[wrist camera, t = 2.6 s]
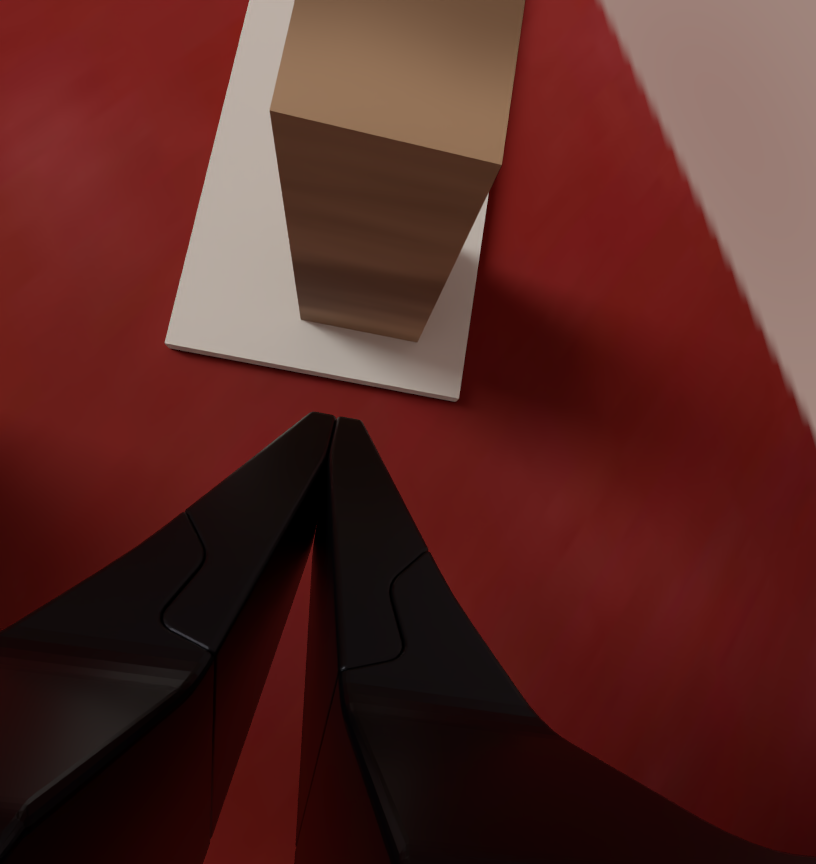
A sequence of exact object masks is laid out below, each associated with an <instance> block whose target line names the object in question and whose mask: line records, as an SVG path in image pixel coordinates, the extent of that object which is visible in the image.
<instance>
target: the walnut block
mask: <svg viewBox="0 0 816 864" xmlns="http://www.w3.org/2000/svg"><path fill="white" fill-rule="evenodd" d="M524 5H525V0H295V1H294V6H293V10H292V14H291V19H290V23H289V27H288V32H287V36H286V41H285V45H284V49H283V54H282V58H281V62H280V67H279V71H278V75H277V80H276V84H275V88H274V93H273V97H272V101H271V106H270V110H269V111H270V118H271V124H272V131H273V138H274V144H275V151H276V158H277V164H278V171H279V178H280V184H281V191H282V198H283V205H284V211H285V218H286V225H287V231H288V238H289V245H290V251H291V258H292V265H293V271H294V278H295V285H296V292H297V298H298V305H299V312H300V318H301V320H305V321H310V322H315V323H320V324H326V325H331V326H336V327H341V328H346V329H351V330H356V331H361V332H366V333H371V334H376V335H381V336H386V337H391V338H396V339H402V340H407V341H412V342H418V340H419V338H420V336H421V334H422V332H423V330H424V328H425V325H426V323H427V321H428V319H429V317H430V315H431V313H432V311H433V309H434V307H435V304H436V302H437V300H438V298H439V296H440V294H441V292H442V290H443V288H444V285H445V283H446V281H447V279H448V277H449V275H450V273H451V271H452V269H453V266H454V264H455V262H456V260H457V258H458V256H459V254H460V252H461V250H462V248H463V245H464V243H465V241H466V239H467V237H468V235H469V233H470V231H471V229H472V226H473V224H474V222H475V220H476V218H477V216H478V214H479V212H480V210H481V207H482V205H483V203H484V201H485V199H486V197H487V195H488V193H489V191H490V189H491V186H492V184H493V182H494V180H495V178H496V176H497V174H498V172H499V170H500V167H501V165H502V159H503V152H504V145H505V138H506V131H507V124H508V117H509V110H510V103H511V96H512V89H513V82H514V75H515V68H516V61H517V54H518V47H519V40H520V33H521V26H522V19H523V12H524Z"/></svg>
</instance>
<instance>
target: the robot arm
mask: <svg viewBox="0 0 816 864" xmlns="http://www.w3.org/2000/svg"><path fill="white" fill-rule="evenodd" d="M316 525H317V526H316ZM315 530H316V532H315ZM314 535H315V538H314ZM313 539H314V545H313V556H312V572H311V589H310V606H309V623H308V640H307V658H306V675H305V692H304V709H303V726H302V744H301V761H300V778H299V795H298V812H297V829H296V851H295V863H294V864H816V857H813V856H804V855H795V854H790V853H785V852H780V851H775V850H772V849H769V848H765V847H762V846H759V845H756V844H753V843H751V842H748V841H746V840H744V839H741V838H739V837H737V836H734V835H732V834H730V833H727V832H725V831H723V830H721V829H719V828H717V827H716V826H714V825H712V824H710V823H708V822H706V821H704V820H702V819H701V818H699V817H697V816H695V815H694V814H692V813H690V812H689V811H687V810H685V809H683V808H682V807H680V806H678V805H677V804H675V803H673V802H671V801H670V800H668V799H666V798H665V797H663V796H661V795H659V794H658V793H656V792H654V791H653V790H651V789H649V788H647V787H646V786H644V785H642V784H641V783H639V782H637V781H635V780H634V779H632V778H630V777H628V776H627V775H625V774H623V773H622V772H620V771H618V770H616V769H615V768H613V767H611V766H610V765H608V764H606V763H604V762H603V761H601V760H599V759H598V758H596V757H594V756H592V755H591V754H589V753H587V752H586V751H584V750H582V749H580V748H579V747H577V746H575V745H574V744H572V743H570V742H569V741H567V740H565V739H564V738H562V737H561V736H559V735H558V734H557V733H556V732H554V731H553V730H552V729H551V728H550V727H549V726H548V725H547V724H546V723H545V722H544V721H543V720H542V719H541V718H540V717H539V716H538V715H537V714H536V713H535V712H534V710H533V709H532V708H531V707H530V706H529V704H528V703H527V702H526V700H525V699H524V698H523V696H522V695H521V694H520V692H519V691H518V689H517V688H516V686H515V685H514V683H513V682H512V681H511V679H510V678H509V676H508V675H507V673H506V672H505V670H504V669H503V668H502V666H501V665H500V663H499V662H498V660H497V659H496V657H495V656H494V655H493V653H492V652H491V650H490V649H489V647H488V646H487V645H486V643H485V642H484V640H483V639H482V637H481V636H480V634H479V633H478V632H477V630H476V629H475V627H474V626H473V624H472V623H471V621H470V620H469V618H468V617H467V615H466V614H465V612H464V611H463V609H462V608H461V606H460V604H459V603H458V601H457V600H456V598H455V597H454V595H453V593H452V592H451V590H450V588H449V586H448V585H447V583H446V581H445V579H444V578H443V576H442V574H441V572H440V570H439V569H438V567H437V565H436V563H435V561H434V559H433V557H432V555H431V553H430V552H428V548H427V546H426V544H425V542H424V540H423V538H422V536H421V534H420V532H419V530H418V528H417V526H416V524H415V522H414V521H413V519H412V517H411V515H410V513H409V511H408V509H407V507H406V505H405V503H404V501H403V499H402V497H401V495H400V494H399V492H398V490H397V488H396V486H395V484H394V482H393V480H392V478H391V476H390V474H389V472H388V470H387V469H386V467H385V465H384V463H383V461H382V459H381V457H380V455H379V453H378V451H377V449H376V447H375V445H374V443H373V442H372V440H371V438H370V436H369V434H368V432H367V430H366V428H365V426H364V424H363V422H362V421H360V420H357V419H352V418H346V417H338V418H337V419H336V418H335V416H333V415H330V414H324V413H319V412H310V413H309V414H308V415H306V416H305V417H304V418H303V419H301V420H300V421H299V422H297V423H296V424H295V425H294V426H292V427H291V428H290V429H288V430H287V431H286V432H285V433H283V434H282V435H281V436H279V437H278V438H277V439H276V440H274V441H273V442H272V443H271V444H269V445H268V446H267V447H265V448H264V449H263V450H262V451H260V452H259V453H258V454H256V455H255V456H254V457H253V458H251V459H250V460H249V461H248V462H246V463H245V464H244V465H242V466H241V467H240V468H239V469H237V470H236V471H235V472H233V473H232V474H231V475H230V476H228V477H227V478H226V479H225V480H223V481H222V482H221V483H219V484H218V485H217V486H216V487H214V488H213V489H212V490H210V491H209V492H208V493H207V494H205V495H204V496H203V497H201V498H200V499H199V500H198V501H196V502H195V503H194V504H193V505H191V506H190V507H189V508H187V509H186V511H185V512H182V513H181V514H179V515H178V516H177V517H176V518H174V519H173V520H172V521H170V522H169V523H168V524H167V525H165V526H164V527H163V528H161V529H160V530H159V531H157V532H156V533H154V534H153V535H152V536H150V537H149V538H148V539H146V540H145V541H144V542H142V543H141V544H139V545H138V546H137V547H135V548H134V549H132V550H131V551H129V552H128V553H126V554H124V555H123V556H121V557H120V558H118V559H117V560H115V561H114V562H112V563H111V564H109V565H108V566H106V567H105V568H103V569H101V570H100V571H98V572H97V573H95V574H93V575H92V576H90V577H89V578H87V579H85V580H84V581H82V582H80V583H79V584H77V585H76V586H74V587H72V588H71V589H69V590H67V591H66V592H64V593H63V594H61V595H59V596H58V597H56V598H55V599H53V600H51V601H50V602H48V603H46V604H45V605H43V606H42V607H40V608H38V609H37V610H35V611H34V612H32V613H30V614H29V615H27V616H25V617H24V618H22V619H21V620H19V621H17V622H16V623H14V624H12V625H11V626H9V627H7V628H6V629H4V630H2V631H0V864H203V862H204V859H205V856H206V853H207V850H208V847H209V844H210V839H211V837H212V835H213V832H214V829H215V826H216V824H217V821H218V818H219V815H220V812H221V809H222V806H223V803H224V800H225V797H226V795H227V792H228V789H229V786H230V783H231V780H232V777H233V774H234V771H235V768H236V765H237V763H238V760H239V757H240V754H241V751H242V748H243V745H244V742H245V739H246V736H247V734H248V731H249V728H250V725H251V722H252V719H253V716H254V713H255V710H256V707H257V704H258V702H259V699H260V696H261V693H262V690H263V687H264V684H265V681H266V678H267V675H268V673H269V670H270V667H271V664H272V661H273V658H274V655H275V652H276V649H277V646H278V644H279V641H280V638H281V635H282V632H283V629H284V626H285V623H286V620H287V617H288V614H289V612H290V609H291V606H292V603H293V600H294V597H295V594H296V591H297V588H298V585H299V583H300V580H301V577H302V574H303V571H304V568H305V565H306V562H307V559H308V556H309V553H310V550H311V547H312V543H313Z"/></svg>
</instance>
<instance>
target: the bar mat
mask: <svg viewBox="0 0 816 864" xmlns="http://www.w3.org/2000/svg"><path fill="white" fill-rule="evenodd" d="M294 1H295V0H249V4H248V8H247V12H246V16H245V20H244V24H243V28H242V32H241V36H240V40H239V44H238V49H237V53H236V57H235V61H234V65H233V69H232V73H231V77H230V81H229V85H228V89H227V93H226V97H225V101H224V105H223V109H222V113H221V117H220V121H219V125H218V129H217V133H216V137H215V142H214V146H213V150H212V154H211V158H210V162H209V166H208V170H207V174H206V178H205V182H204V186H203V190H202V194H201V198H200V202H199V206H198V210H197V214H196V218H195V222H194V226H193V230H192V235H191V239H190V243H189V247H188V251H187V255H186V259H185V263H184V267H183V271H182V275H181V279H180V283H179V287H178V291H177V295H176V299H175V303H174V307H173V311H172V315H171V319H170V323H169V328H168V332H167V336H166V340H165V344H166V345H167V346H168V347H169V348H171V349H176V350H181V351H187V352H192V353H197V354H203V355H208V356H213V357H219V358H224V359H229V360H235V361H240V362H245V363H251V364H256V365H261V366H267V367H272V368H277V369H283V370H288V371H293V372H299V373H304V374H309V375H315V376H320V377H325V378H331V379H336V380H341V381H347V382H352V383H357V384H363V385H368V386H373V387H379V388H384V389H389V390H395V391H400V392H405V393H411V394H416V395H421V396H427V397H432V398H437V399H443V400H448V401H453V402H456V401H457V400H458V399H459V394H460V387H461V381H462V374H463V367H464V360H465V353H466V346H467V339H468V332H469V326H470V319H471V312H472V305H473V298H474V291H475V284H476V277H477V270H478V264H479V257H480V250H481V243H482V236H483V229H484V222H485V215H486V209H487V202H488V195H489V193H488V195H487V197H486V199H485V201H484V203H483V205H482V207H481V210H480V212H479V214H478V216H477V218H476V220H475V222H474V224H473V226H472V229H471V231H470V233H469V235H468V237H467V239H466V241H465V243H464V245H463V248H462V250H461V252H460V254H459V256H458V258H457V260H456V262H455V264H454V266H453V269H452V271H451V273H450V275H449V277H448V279H447V281H446V283H445V285H444V288H443V290H442V292H441V294H440V296H439V298H438V300H437V302H436V304H435V307H434V309H433V311H432V313H431V315H430V317H429V319H428V321H427V323H426V325H425V328H424V330H423V332H422V334H421V336H420V338H419V340H418V342H412V341H407V340H402V339H396V338H391V337H386V336H381V335H376V334H371V333H366V332H361V331H356V330H351V329H346V328H341V327H336V326H331V325H326V324H320V323H315V322H310V321H305V320H301V318H300V312H299V305H298V298H297V292H296V285H295V278H294V271H293V265H292V258H291V251H290V245H289V238H288V231H287V225H286V218H285V211H284V205H283V198H282V191H281V184H280V178H279V171H278V164H277V158H276V151H275V144H274V138H273V131H272V124H271V118H270V111H269V110H270V106H271V101H272V97H273V93H274V88H275V84H276V80H277V75H278V71H279V67H280V62H281V58H282V54H283V49H284V45H285V41H286V36H287V32H288V27H289V23H290V19H291V14H292V10H293V6H294Z"/></svg>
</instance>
